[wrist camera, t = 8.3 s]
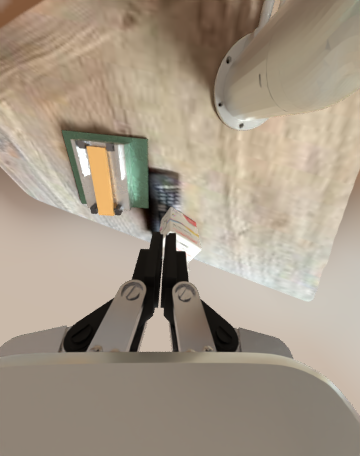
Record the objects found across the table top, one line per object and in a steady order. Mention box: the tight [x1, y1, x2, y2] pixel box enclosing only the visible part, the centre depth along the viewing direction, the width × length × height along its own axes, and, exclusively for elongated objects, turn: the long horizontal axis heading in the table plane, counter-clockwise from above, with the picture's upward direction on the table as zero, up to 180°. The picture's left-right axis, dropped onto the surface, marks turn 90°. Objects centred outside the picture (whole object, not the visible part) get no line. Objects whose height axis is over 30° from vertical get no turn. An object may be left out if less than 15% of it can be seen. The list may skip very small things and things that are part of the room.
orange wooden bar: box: [86, 146, 115, 216], centre depth 29 cm, size 13×3×1 cm, turn 175°
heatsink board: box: [62, 130, 149, 215], centre depth 31 cm, size 15×16×7 cm
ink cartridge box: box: [160, 207, 202, 272], centre depth 35 cm, size 9×5×15 cm, turn 54°
